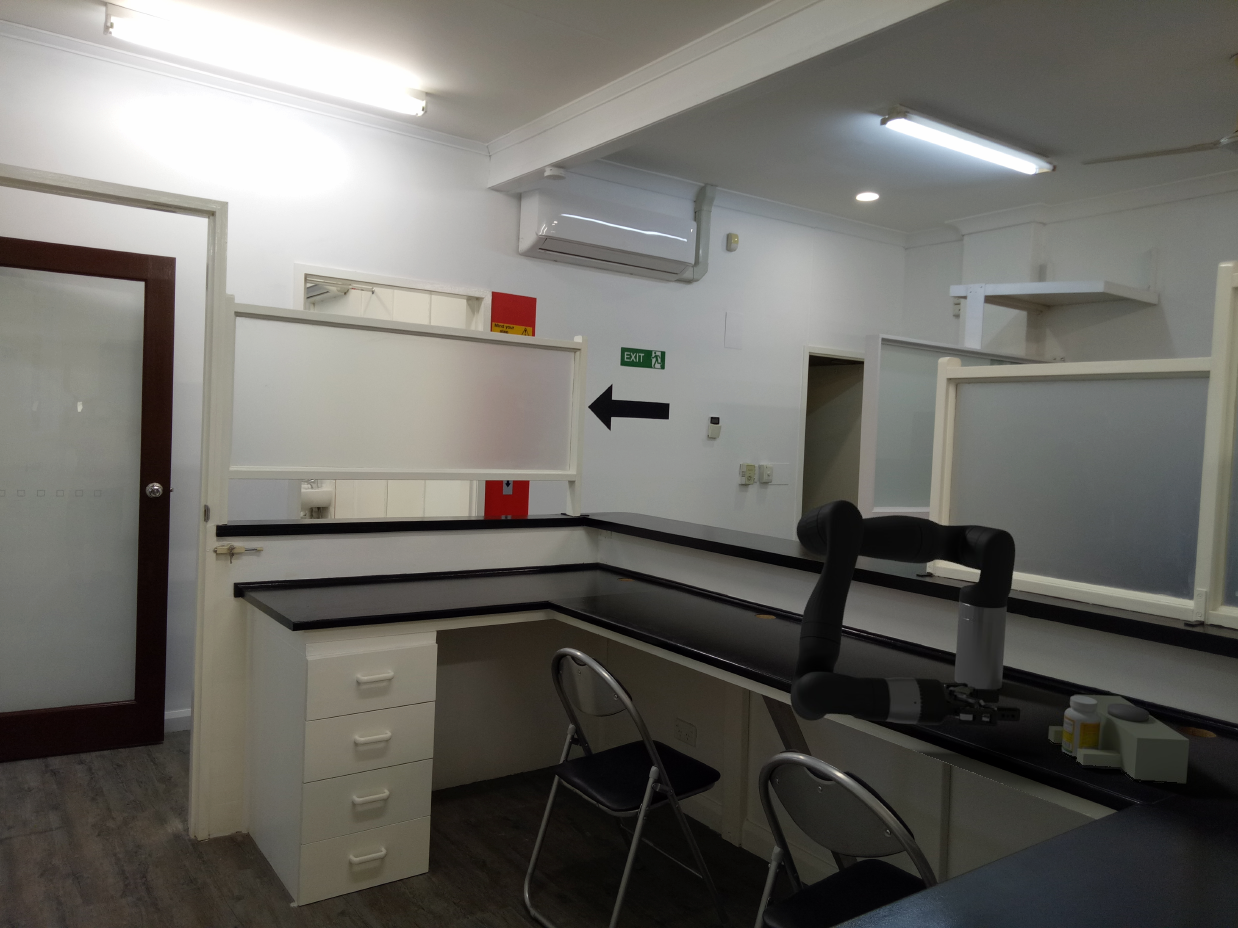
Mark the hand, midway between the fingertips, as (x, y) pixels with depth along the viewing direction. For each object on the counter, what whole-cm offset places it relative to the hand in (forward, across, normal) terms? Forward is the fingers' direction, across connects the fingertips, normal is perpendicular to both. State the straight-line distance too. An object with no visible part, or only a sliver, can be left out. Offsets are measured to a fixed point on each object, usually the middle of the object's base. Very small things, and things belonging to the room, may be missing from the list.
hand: (1008, 704), depth 145 cm
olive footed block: (+17, 0, +8) cm, 19 cm away
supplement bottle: (+12, 0, +8) cm, 15 cm away
